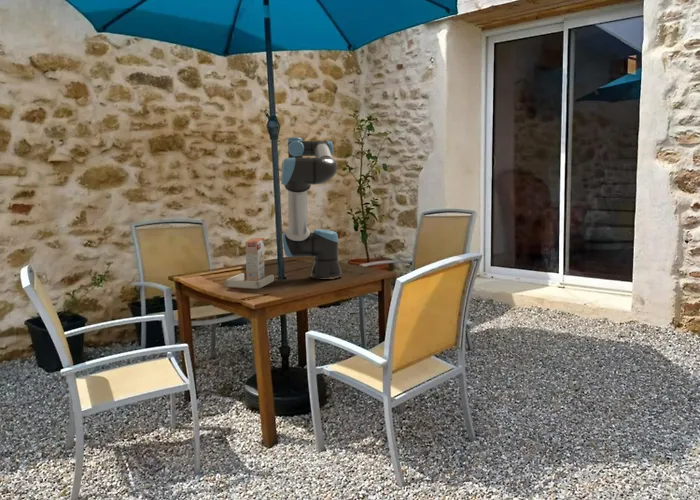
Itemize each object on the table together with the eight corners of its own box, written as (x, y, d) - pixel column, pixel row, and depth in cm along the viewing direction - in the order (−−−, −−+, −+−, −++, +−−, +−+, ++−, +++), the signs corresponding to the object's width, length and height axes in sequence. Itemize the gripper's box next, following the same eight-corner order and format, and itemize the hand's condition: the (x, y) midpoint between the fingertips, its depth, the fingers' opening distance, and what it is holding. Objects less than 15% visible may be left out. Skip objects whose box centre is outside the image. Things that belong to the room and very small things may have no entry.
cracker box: (259, 287, 267) (257, 241, 264) (246, 287, 268) (244, 241, 264) (265, 280, 281) (264, 237, 278) (253, 280, 282) (251, 237, 278)
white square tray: (274, 281, 281) (273, 274, 280) (258, 288, 264) (258, 282, 264) (241, 279, 285) (241, 273, 285) (224, 286, 269) (224, 280, 269)
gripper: (293, 167, 311) (294, 212, 315) (284, 168, 299) (285, 214, 302) (306, 167, 309) (307, 212, 313) (298, 168, 297) (299, 214, 300)
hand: (296, 213), depth 307 cm, fingers closed
